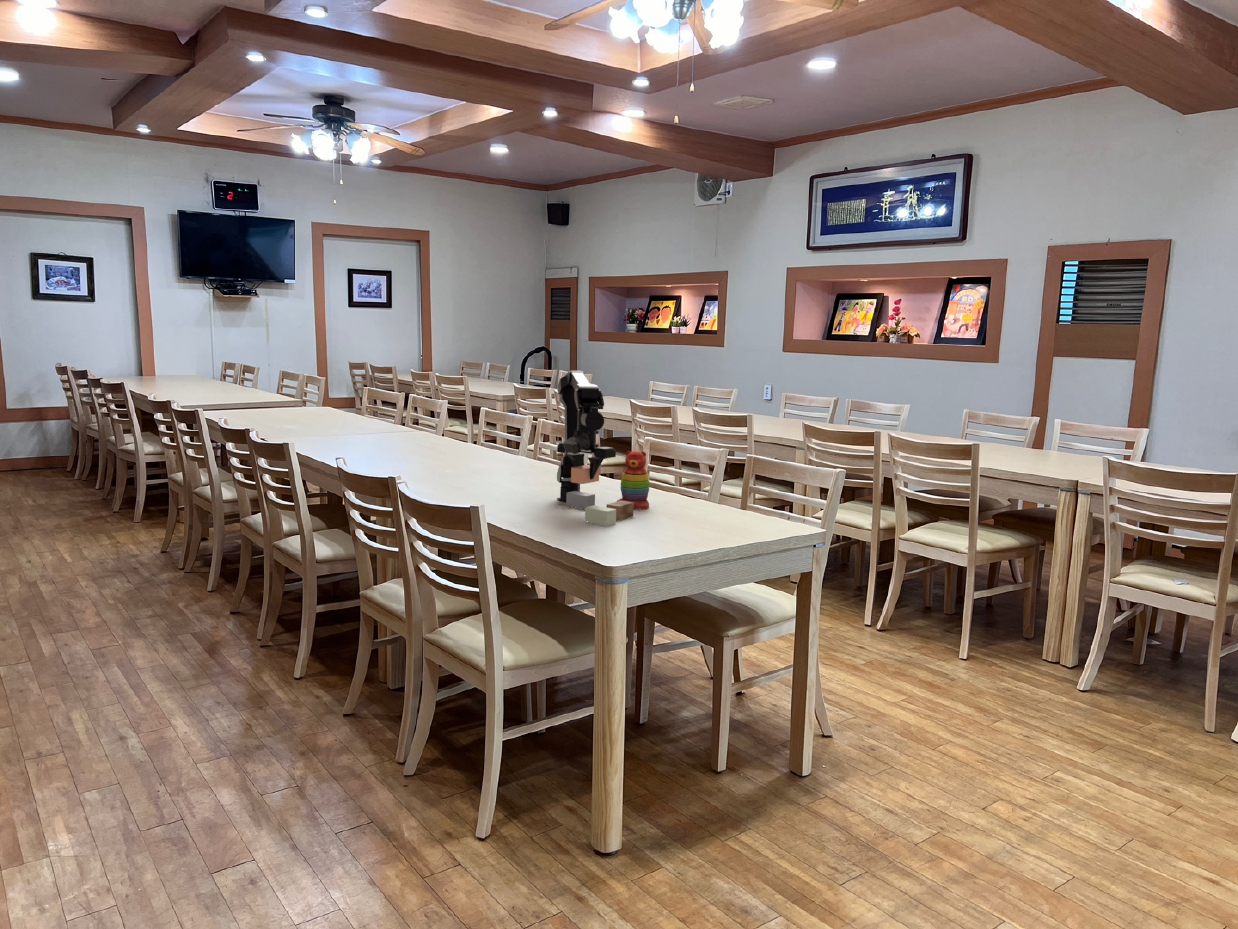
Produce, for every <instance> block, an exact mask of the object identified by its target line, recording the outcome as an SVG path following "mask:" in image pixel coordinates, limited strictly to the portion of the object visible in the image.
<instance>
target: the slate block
mask: <svg viewBox="0 0 1238 929" xmlns="http://www.w3.org/2000/svg"><path fill="white" fill-rule="evenodd" d="M565 502H566V503H565V507H568V506H570V507H569V508H574V507H576V508H575V509H579V508H581V509H580V510H585V507H589V506H594V505H596V494H595V493H590V492H584V491H580V492H579V491H572V492H568V493H567V496H566V501H565Z"/></svg>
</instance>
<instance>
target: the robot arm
mask: <svg viewBox="0 0 1238 929" xmlns="http://www.w3.org/2000/svg"><path fill="white" fill-rule="evenodd" d="M557 394H558V397H559V401H560V403H561V404H562V406H563V408H564V441H563V442H559V443H558V445H557V446H556V452H557V453H562V454H563V455H562V456H561V458H560V463H559V464H558V468H557V472H556V481H557V482H558V483H559V484H560V491H559V492H560V494H559V495H560V496H559V497H556V500H557V501H563V502H566V496H567V493H568V492H572V491H579V492H581V484H579V483H573V482H571V467H577V466H584V465H586V464H585V454H590V455H591V457H590V456H589V457H587V460H588V461H589V465H590V479H593V478H594V476H595V474H596V472H597V470H598V468H599V469H600V465H601V464H602V463H603V461H604V459H605V460H607V459H611V458H616V455H617V451H616V449H615V448H614V447H611V446H610V447H609V446H600V447H599V443H597V435H599V432H600V430H601V429H602V428H603V426H604V424H605V417H604V416H603V414H602V413H600V412H599V410H604V407H605V400H604V396H603V395H604V394H603V393H602V391H601V389H600V388H599V386H598V385H597V384H594V383H590V381H589V380H588V379H587V377H586V375H585V372H584V371H583V370H569V371H567V373H566V374H565V375H564V376H562V377H561V378H560V379H559V381H558V384H557Z"/></svg>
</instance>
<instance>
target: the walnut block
mask: <svg viewBox="0 0 1238 929" xmlns="http://www.w3.org/2000/svg"><path fill="white" fill-rule="evenodd" d="M617 501H618V500H617ZM605 507H607V508H612V509H616V522H617V521H622V519H623V520H625V519H626V520H627V519H630V518H633V517H634V509H635V508H634V503H633V502H627V501H618V502H616V501H615V502H610V503H606V505H605ZM632 516H633V517H632ZM629 517H630V518H629Z"/></svg>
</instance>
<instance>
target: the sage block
mask: <svg viewBox="0 0 1238 929" xmlns="http://www.w3.org/2000/svg"><path fill="white" fill-rule="evenodd" d="M585 521H588V522H592V523H591V524H593V523H596V524H595V525H598V524H601V525H600V526H603V525H606V526H605V527H608V525H610V526H612V524H613V525H616V524H617V520H616V509H612V508H607V507H606V506H600V505H596V504H595V505H594V506H589V507H585V509H584V522H585ZM588 522H587V523H588ZM615 523H616V524H615Z"/></svg>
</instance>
